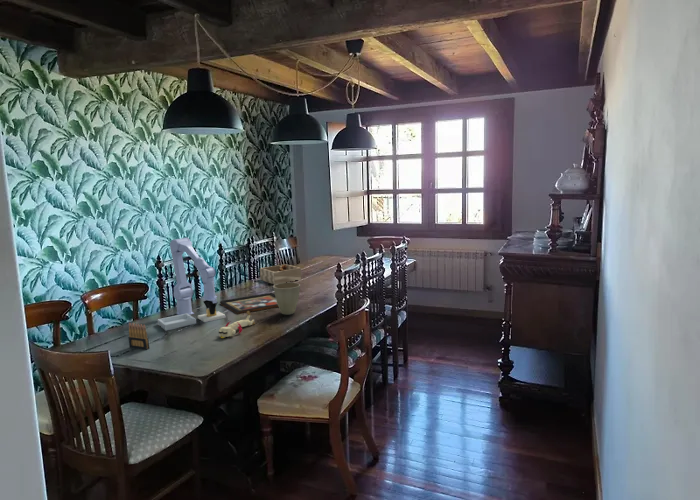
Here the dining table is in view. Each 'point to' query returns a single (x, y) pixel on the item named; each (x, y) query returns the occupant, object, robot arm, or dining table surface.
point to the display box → (280, 274)
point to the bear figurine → (282, 268)
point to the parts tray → (176, 321)
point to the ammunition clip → (138, 337)
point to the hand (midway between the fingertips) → (211, 313)
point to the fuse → (209, 312)
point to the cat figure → (235, 326)
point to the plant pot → (287, 296)
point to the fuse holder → (211, 317)
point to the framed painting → (251, 303)
